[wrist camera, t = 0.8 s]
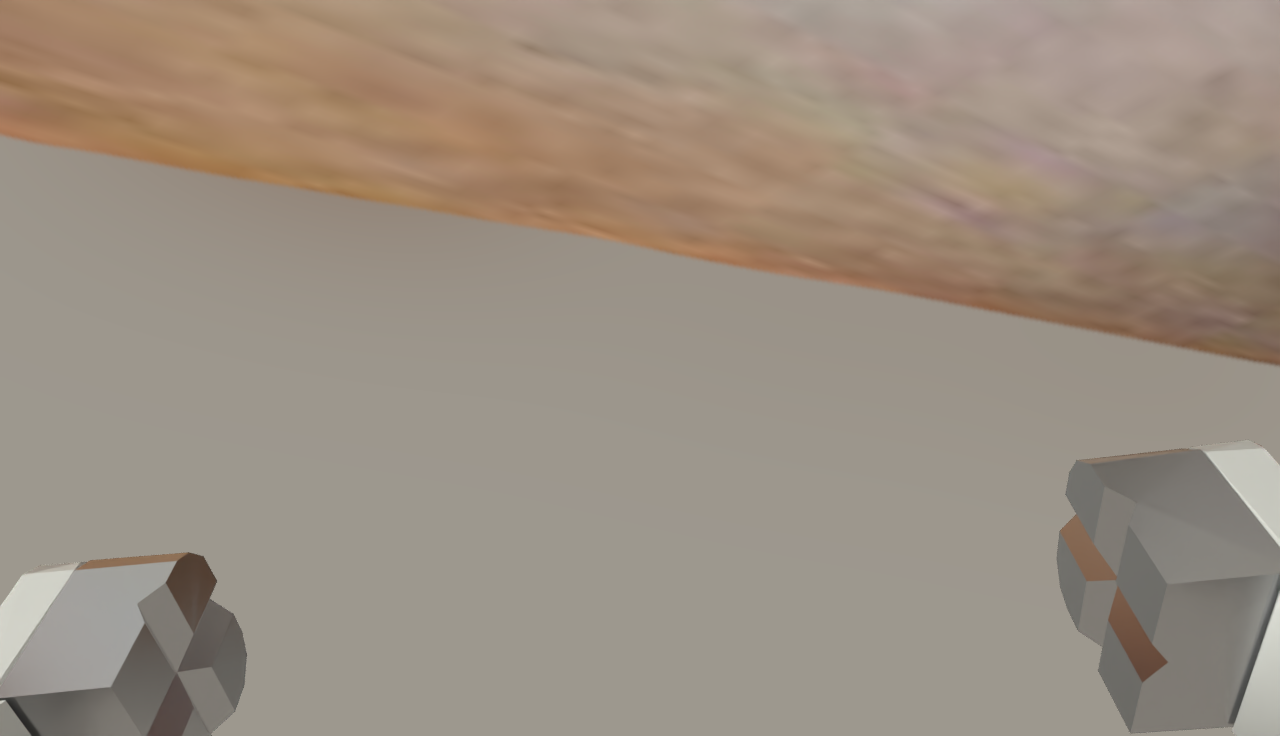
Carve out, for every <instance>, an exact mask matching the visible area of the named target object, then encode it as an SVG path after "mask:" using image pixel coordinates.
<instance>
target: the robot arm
mask: <svg viewBox="0 0 1280 736" xmlns="http://www.w3.org/2000/svg"><path fill="white" fill-rule="evenodd" d="M1066 496H1067V498H1068V500H1069V501H1070V503H1071V505H1072V507H1073V509H1074V510H1075V512H1076V515H1075V516H1074V517H1073V518H1072V519H1071V520H1070V521H1069V522H1068V523H1067V524H1066V525H1065V526H1064V527H1063V528H1062V529H1061V530H1060V533H1059V542H1058V551H1057V565H1058V573H1059V581H1060V588H1061V591H1062V594H1063V597H1064V600H1065V603H1066V606H1067V609H1068V611H1069V613H1070V615H1071V617H1072V620H1073V622H1074V623H1075V626H1076V628H1077V630H1078V631H1079V632H1080V633H1082V634H1083V635H1085V636H1086V637H1088V638H1090V639H1091V640H1093V641H1094V642H1096V643H1097V644H1099V645H1100V646H1102V647H1103V648H1102V653H1101V658H1100V663H1099V669H1098V672H1099V673H1100V675H1101V677H1102V679H1103V681H1104V683H1105V685H1106V687H1107V689H1108V691H1109V693H1110V695H1111V697H1112V699H1113V700H1114V703H1115V704H1116V706H1117V708H1118V710H1119V712H1120V714H1121V716H1122V718H1123V720H1124V722H1125V724H1126V726H1127V728H1128V729H1129V732H1130V733H1146V732H1160V731H1177V730H1192V729H1206V728H1207V729H1208V728H1224V727H1233V730H1232V732H1233V733H1234V734H1235V735H1236V736H1280V465H1279V464H1278V463H1277V462H1276V461H1275V460H1274V458H1273V457H1272V456H1271V455H1270V454H1269V453H1268V452H1267V451H1266V449H1265V448H1264V447H1262V446H1261V445H1259V444H1256V443H1255V442H1252V441H1250V440H1243V441H1234V442H1226V443H1218V444H1210V445H1201V446H1193V447H1190V448H1189V449H1175V450H1166V451H1158V452H1148V453H1140V454H1130V455H1122V456H1112V457H1103V458H1094V459H1085V460H1076V462H1075V464H1074V466H1073V467H1072V469H1071V471H1070V473H1069V477H1068V483H1067V489H1066ZM216 583H217V580H216V578H215V576H214V575H213V572H212V571H211V569H210V567H209V566H208V564H207V562H206V560H205V558H204V556H200V555H197V554H193V553H189V552H188V553H176V554H163V555H151V556H139V557H127V558H113V559H101V560H90V561H88V562H77V563H64V564H51V565H40V566H38V567H36V568H34V569H32V570H30V571H28V572H27V573H25V574H23V575H22V576H21V578H20V579H19V581H18V582H17V583H16V585H15V586H14V588H13V589H12V591H11V592H10V593H9V595H8V596H7V598H6V599H5V601H4V602H3V603H2V605H1V606H0V736H212V735H211V733H212V732H213V731H215V730H216V729H217V728H218V727H219V726H220V725H221V724H222V723H223V722H224V721H225V720H226V719H227V718H228V717H230V716H231V715H232V714H233V713H234V712H235V710H236V707H237V705H238V702H239V699H240V696H241V693H242V690H243V688H244V683H245V671H246V659H247V658H246V657H247V653H246V648H245V643H244V638H243V633H242V630H241V628H240V626H239V624H238V622H237V620H236V618H235V616H234V614H233V613H231V612H230V611H228V610H227V609H225V608H223V607H222V606H220V605H218V604H217V603H216V602H214V601H212V600H211V599H210V597H211V595H212V592H213V590H214V588H215V585H216Z"/></svg>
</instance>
